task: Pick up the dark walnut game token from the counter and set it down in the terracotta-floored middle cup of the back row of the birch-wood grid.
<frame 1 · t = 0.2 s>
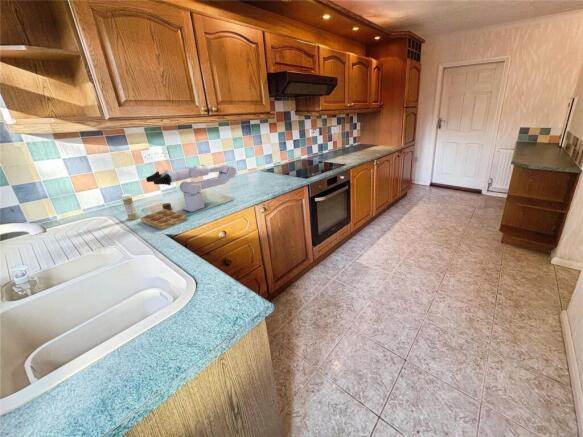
hand: (150, 181, 128), 21 cm above the worktop, tool horizontal, fingers open, 7 cm apart
token: (167, 210, 150), on the worktop
sprinkles bottle: (133, 218, 140), on the worktop
grid: (164, 220, 134), on the worktop
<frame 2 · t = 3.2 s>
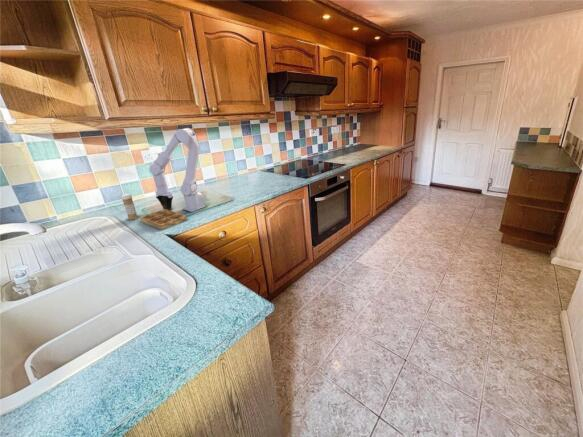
hand: (167, 207, 149), 1 cm above the worktop, tool pointing down, fingers closed on token, 4 cm apart
token: (167, 210, 150), on the worktop, touching gripper
everything else where it was.
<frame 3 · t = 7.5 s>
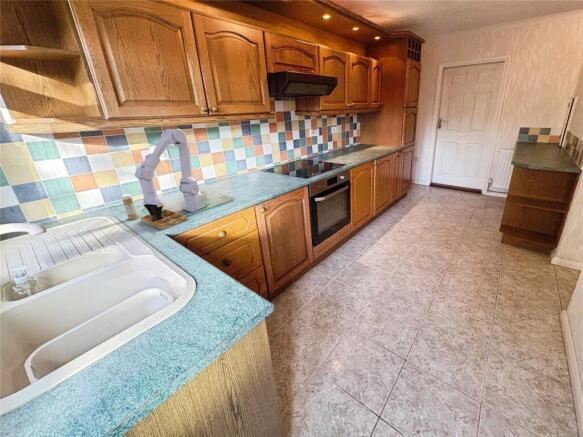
hand: (156, 217, 131), 3 cm above the worktop, tool pointing down, fingers closed on token, 4 cm apart
token: (157, 220, 131), point 2 cm above the worktop, touching gripper
everything else where it was.
when the fingers open (4 cm above the worktop, at t = 13.8 s): token drops 1 cm, resting on grid.
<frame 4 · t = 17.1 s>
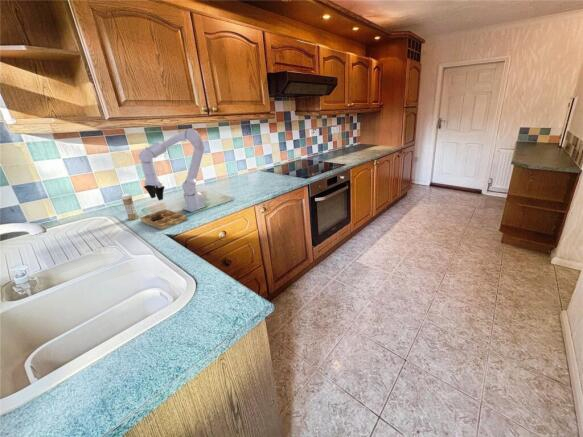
hand: (157, 198, 139), 9 cm above the worktop, tool pointing down, fingers open, 7 cm apart
token: (157, 221, 132), point 1 cm above the worktop, touching grid
everything else where it was.
at the end: token 0.0 cm from the target spot in the grid, point 0.7 cm above the grid's base; token tilted 0°; the gripper is holding nothing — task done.
